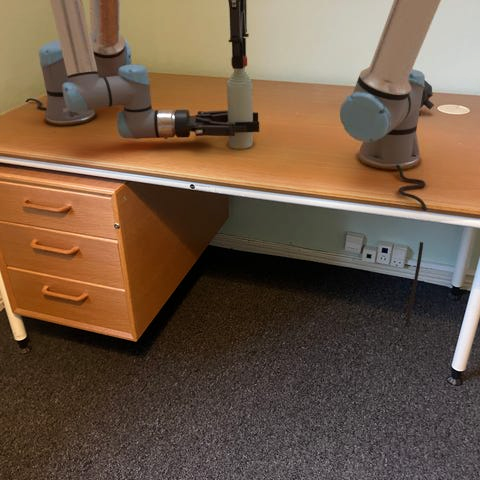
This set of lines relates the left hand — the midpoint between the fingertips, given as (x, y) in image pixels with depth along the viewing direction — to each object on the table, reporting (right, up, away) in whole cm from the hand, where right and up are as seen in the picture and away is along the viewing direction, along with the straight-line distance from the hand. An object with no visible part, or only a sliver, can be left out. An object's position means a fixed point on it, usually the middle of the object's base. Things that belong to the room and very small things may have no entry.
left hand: (258, 122), depth 146 cm
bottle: (-5, -6, +3) cm, 8 cm away
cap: (-5, +14, -9) cm, 18 cm away
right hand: (-5, +13, -8) cm, 16 cm away
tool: (+47, +10, +26) cm, 55 cm away
